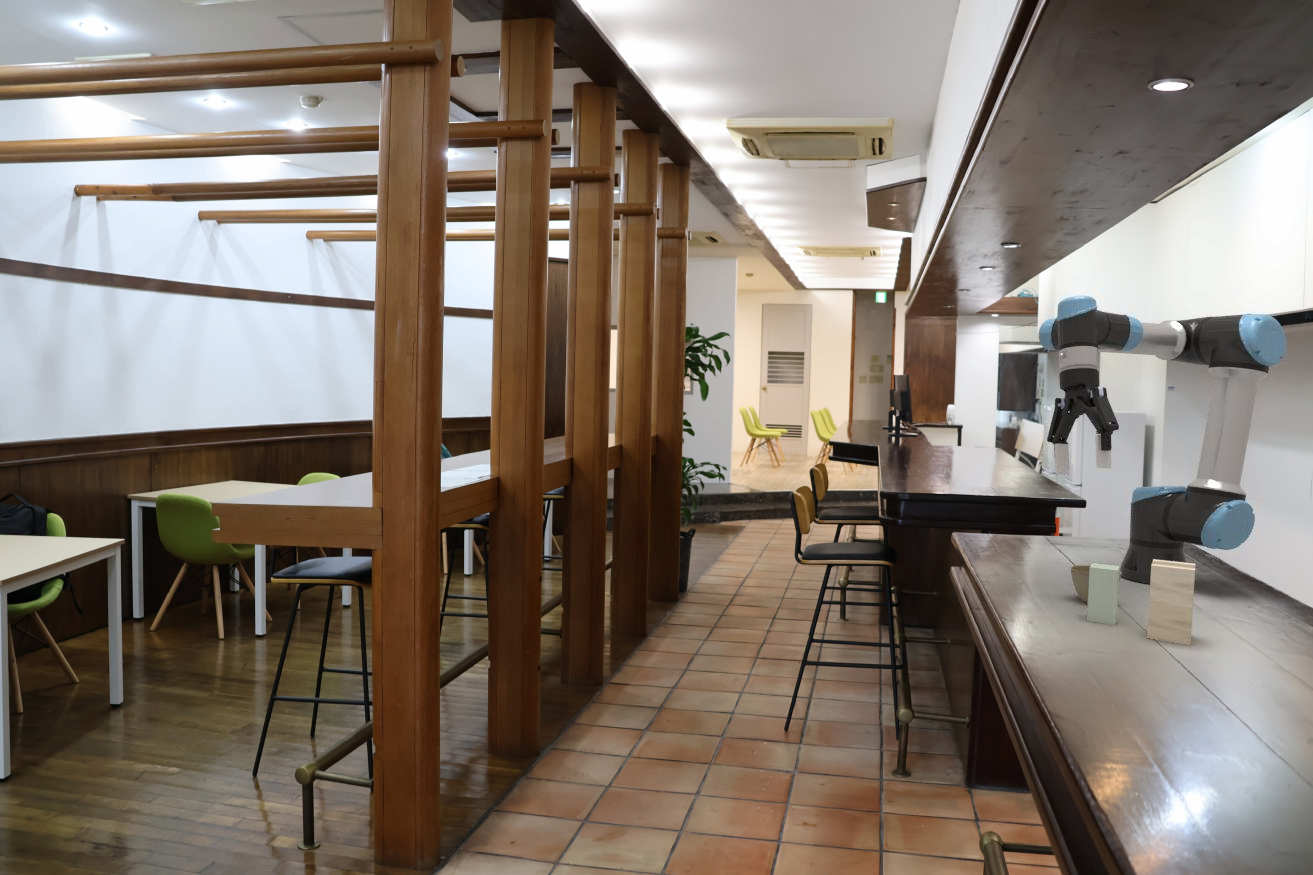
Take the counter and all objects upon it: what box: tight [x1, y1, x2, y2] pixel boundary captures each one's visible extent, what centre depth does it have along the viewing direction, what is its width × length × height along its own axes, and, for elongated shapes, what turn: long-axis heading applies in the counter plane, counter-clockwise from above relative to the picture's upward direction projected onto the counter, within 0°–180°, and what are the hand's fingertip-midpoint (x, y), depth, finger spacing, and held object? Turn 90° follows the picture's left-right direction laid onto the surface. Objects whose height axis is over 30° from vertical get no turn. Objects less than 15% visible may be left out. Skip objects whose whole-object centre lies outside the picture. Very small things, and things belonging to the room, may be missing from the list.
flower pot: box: [1070, 564, 1122, 604], centre depth 194 cm, size 10×10×7 cm
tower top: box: [1148, 559, 1196, 609], centre depth 167 cm, size 7×7×7 cm
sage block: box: [1086, 562, 1121, 626], centre depth 179 cm, size 5×5×11 cm
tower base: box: [1146, 601, 1194, 646], centre depth 167 cm, size 7×7×7 cm
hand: (1082, 471), depth 182 cm, fingers open, 13 cm apart
